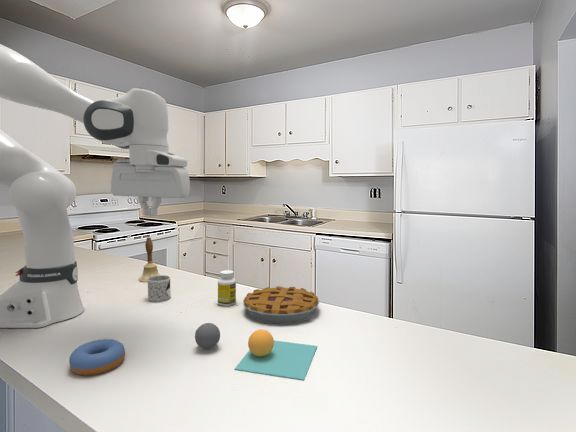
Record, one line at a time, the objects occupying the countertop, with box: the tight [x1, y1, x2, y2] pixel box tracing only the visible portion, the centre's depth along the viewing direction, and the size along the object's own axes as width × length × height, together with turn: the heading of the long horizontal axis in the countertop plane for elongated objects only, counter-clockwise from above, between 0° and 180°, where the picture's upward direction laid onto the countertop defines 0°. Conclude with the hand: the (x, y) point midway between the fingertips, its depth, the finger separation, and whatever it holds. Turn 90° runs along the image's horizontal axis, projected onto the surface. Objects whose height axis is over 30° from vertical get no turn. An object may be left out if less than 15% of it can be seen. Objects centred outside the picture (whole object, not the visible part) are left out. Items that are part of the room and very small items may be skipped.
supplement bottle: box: [217, 269, 237, 307], centre depth 107 cm, size 5×5×10 cm
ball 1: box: [194, 322, 221, 350], centre depth 79 cm, size 6×6×6 cm
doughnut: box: [68, 338, 126, 376], centre depth 72 cm, size 10×10×5 cm
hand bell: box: [138, 236, 160, 283], centre depth 132 cm, size 8×8×16 cm
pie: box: [242, 286, 320, 324], centre depth 102 cm, size 22×22×5 cm
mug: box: [147, 275, 172, 303], centre depth 113 cm, size 10×7×7 cm, turn 26°
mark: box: [234, 340, 318, 381], centre depth 75 cm, size 14×14×1 cm
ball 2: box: [247, 328, 275, 357], centre depth 76 cm, size 6×6×6 cm
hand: (150, 215), depth 87 cm, fingers closed
